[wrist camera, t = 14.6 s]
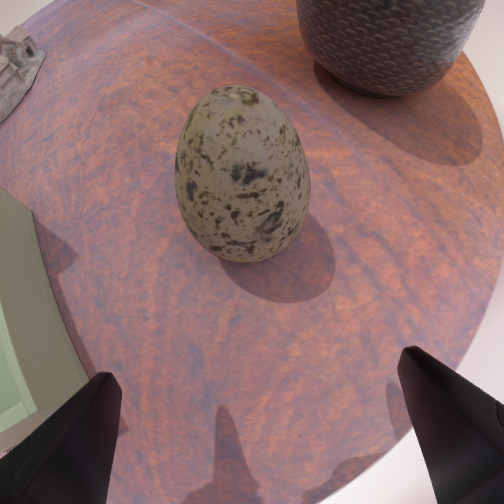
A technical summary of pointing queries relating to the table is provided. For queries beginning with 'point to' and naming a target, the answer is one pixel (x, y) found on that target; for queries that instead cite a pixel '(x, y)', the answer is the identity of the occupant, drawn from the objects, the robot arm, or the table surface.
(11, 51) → the ceramic cottage
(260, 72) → the table surface
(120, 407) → the robot arm
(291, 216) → the decorative egg
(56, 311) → the chest
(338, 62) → the planter
